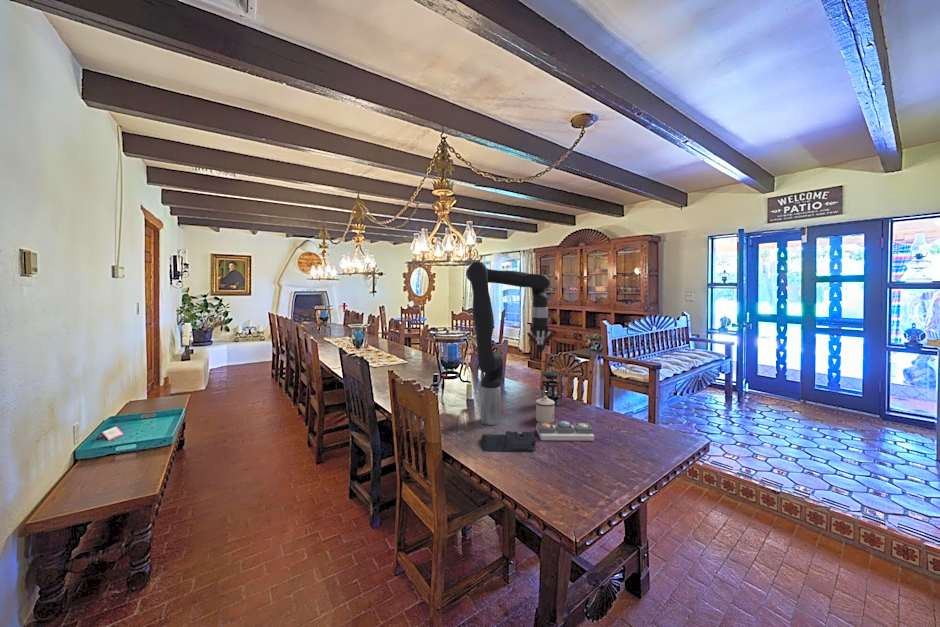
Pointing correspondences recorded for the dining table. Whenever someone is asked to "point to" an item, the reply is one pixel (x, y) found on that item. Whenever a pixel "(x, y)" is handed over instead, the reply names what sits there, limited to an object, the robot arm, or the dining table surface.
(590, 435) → the button panel
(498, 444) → the dark slate chunk
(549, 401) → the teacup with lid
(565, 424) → the slate button
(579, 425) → the sage button
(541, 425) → the terracotta button
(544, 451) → the dining table surface
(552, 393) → the french press
